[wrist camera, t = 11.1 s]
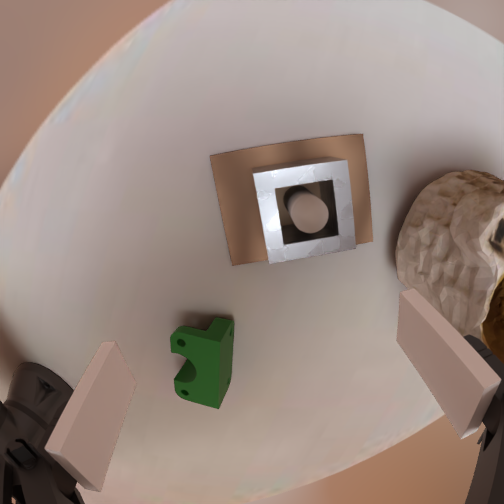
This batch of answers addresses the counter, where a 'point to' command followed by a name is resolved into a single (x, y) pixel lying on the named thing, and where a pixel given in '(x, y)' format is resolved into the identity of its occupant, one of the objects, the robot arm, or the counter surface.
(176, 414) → the counter surface
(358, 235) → the post board
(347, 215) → the collar
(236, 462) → the counter surface
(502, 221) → the ceramic vessel
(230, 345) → the clamp
